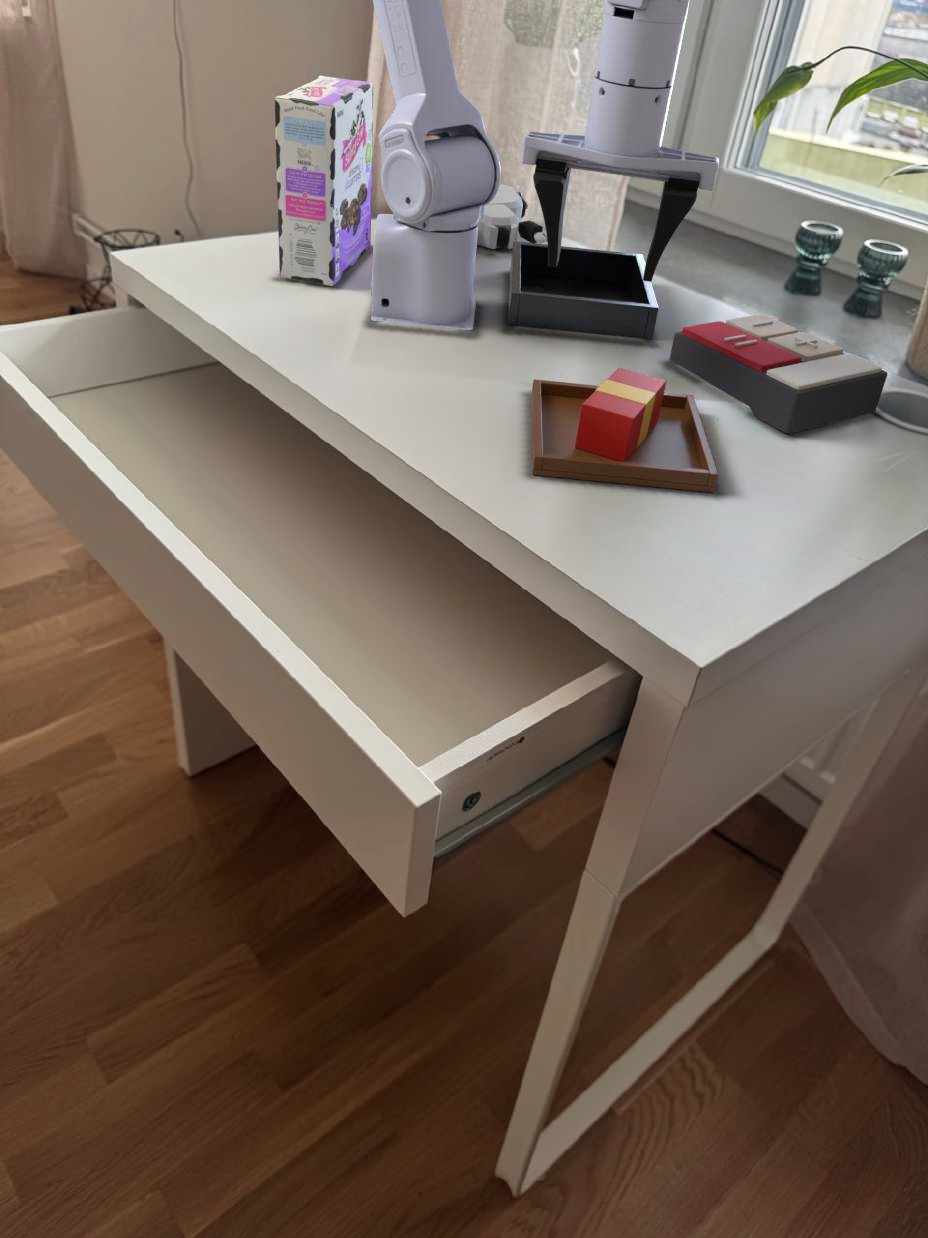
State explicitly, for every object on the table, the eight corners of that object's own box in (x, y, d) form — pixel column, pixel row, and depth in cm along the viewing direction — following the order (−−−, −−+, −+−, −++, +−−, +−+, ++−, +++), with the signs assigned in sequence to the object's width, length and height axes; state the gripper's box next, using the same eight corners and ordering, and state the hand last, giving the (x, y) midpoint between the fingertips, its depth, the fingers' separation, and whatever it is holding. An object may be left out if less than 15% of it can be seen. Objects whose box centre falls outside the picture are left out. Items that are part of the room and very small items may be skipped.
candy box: (334, 288, 96) (334, 103, 85) (277, 279, 96) (270, 95, 86) (372, 247, 106) (376, 79, 96) (321, 239, 107) (319, 71, 97)
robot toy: (553, 265, 109) (513, 215, 120) (560, 225, 106) (518, 177, 117) (448, 266, 106) (417, 214, 116) (452, 225, 103) (419, 175, 113)
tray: (532, 474, 70) (534, 456, 69) (531, 395, 80) (533, 378, 79) (713, 492, 70) (718, 474, 69) (689, 411, 80) (693, 394, 79)
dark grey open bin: (507, 330, 91) (511, 292, 88) (509, 275, 103) (513, 240, 101) (650, 345, 91) (658, 307, 89) (636, 288, 103) (642, 254, 101)
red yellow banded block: (573, 448, 72) (581, 403, 70) (610, 409, 78) (618, 366, 76) (624, 463, 71) (634, 418, 69) (657, 422, 77) (667, 379, 75)
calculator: (762, 308, 90) (893, 363, 80) (751, 353, 93) (877, 412, 83) (673, 323, 85) (801, 384, 75) (665, 370, 88) (787, 434, 78)
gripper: (732, 84, 72) (690, 268, 80) (541, 59, 73) (519, 242, 82) (735, 101, 66) (689, 296, 75) (528, 73, 68) (506, 268, 76)
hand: (600, 270), depth 78 cm, fingers open, 7 cm apart
